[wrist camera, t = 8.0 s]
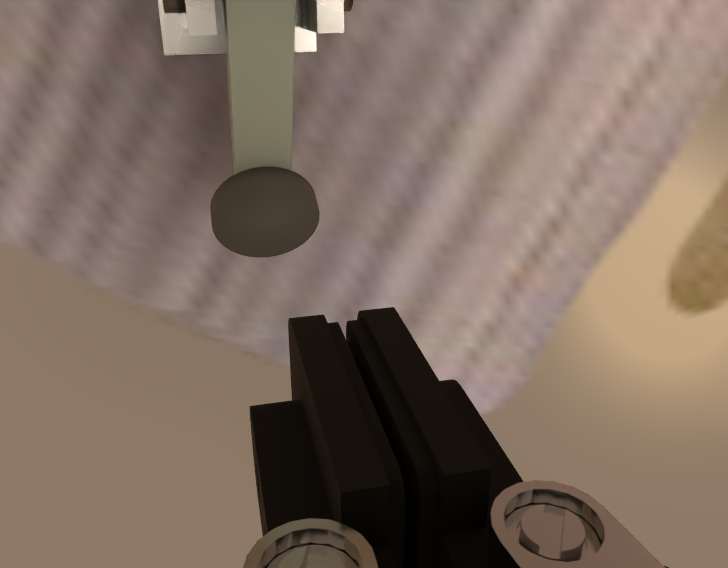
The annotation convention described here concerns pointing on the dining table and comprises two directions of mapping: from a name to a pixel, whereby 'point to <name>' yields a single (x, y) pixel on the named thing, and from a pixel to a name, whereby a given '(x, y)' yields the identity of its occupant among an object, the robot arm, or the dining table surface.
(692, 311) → the dining table surface
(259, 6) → the lever
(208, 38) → the pivot stand
